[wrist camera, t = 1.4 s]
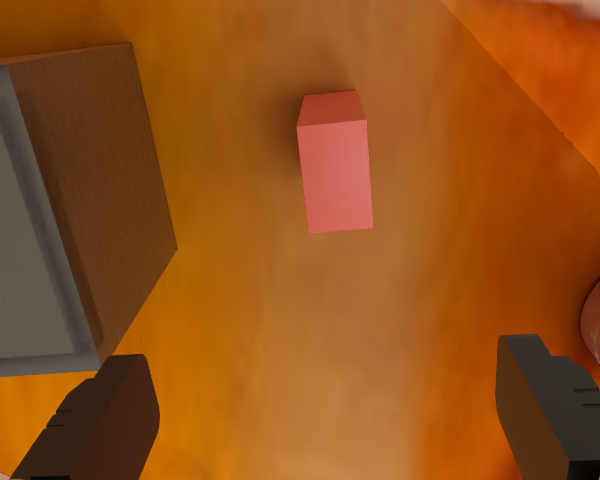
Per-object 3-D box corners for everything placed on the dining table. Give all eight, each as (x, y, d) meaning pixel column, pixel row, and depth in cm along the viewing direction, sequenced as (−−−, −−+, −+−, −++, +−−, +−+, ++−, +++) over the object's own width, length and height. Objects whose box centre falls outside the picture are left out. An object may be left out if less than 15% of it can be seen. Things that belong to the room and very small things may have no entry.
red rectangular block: (356, 90, 31) (366, 119, 23) (361, 172, 33) (373, 228, 25) (304, 95, 31) (296, 126, 23) (313, 177, 33) (308, 233, 25)
